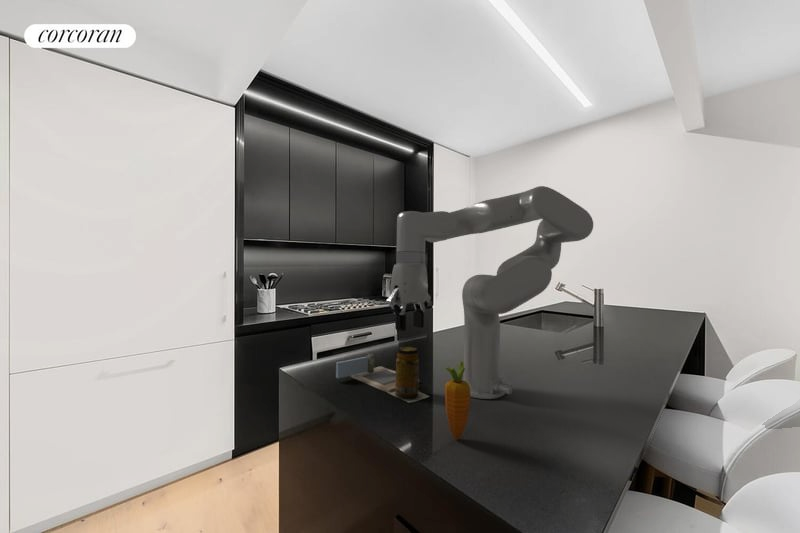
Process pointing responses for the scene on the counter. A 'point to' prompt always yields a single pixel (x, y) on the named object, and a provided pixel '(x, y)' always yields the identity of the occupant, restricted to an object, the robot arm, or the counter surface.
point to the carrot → (457, 401)
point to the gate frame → (378, 376)
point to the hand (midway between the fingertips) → (409, 327)
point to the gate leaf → (351, 367)
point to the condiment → (407, 375)
